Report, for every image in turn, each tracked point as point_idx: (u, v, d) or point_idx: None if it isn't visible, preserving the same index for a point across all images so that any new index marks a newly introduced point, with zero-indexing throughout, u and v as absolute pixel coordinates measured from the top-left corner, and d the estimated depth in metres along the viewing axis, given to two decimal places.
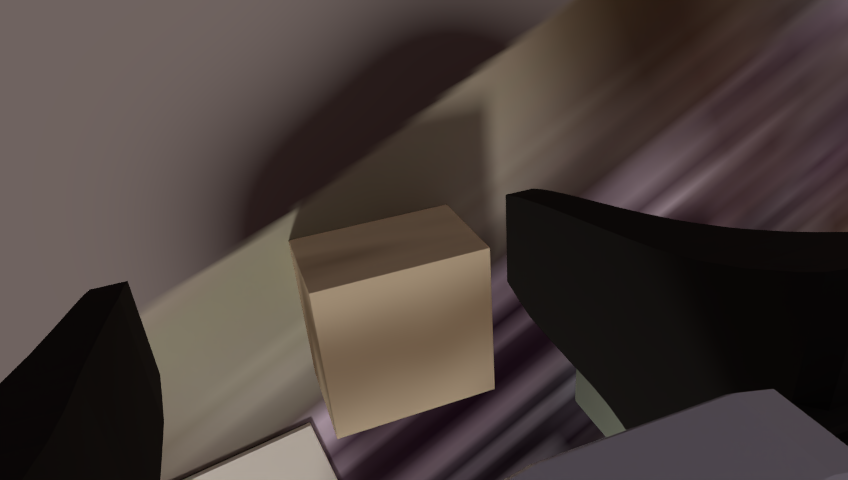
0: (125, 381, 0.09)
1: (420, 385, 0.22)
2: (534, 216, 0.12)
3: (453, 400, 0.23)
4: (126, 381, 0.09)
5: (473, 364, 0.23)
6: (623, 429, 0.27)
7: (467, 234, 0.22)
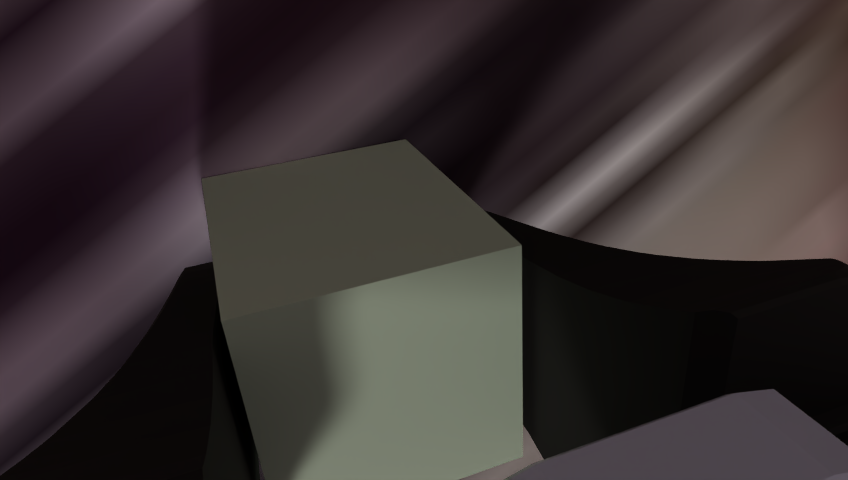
0: None
1: None
2: None
3: None
4: None
5: None
6: None
7: None
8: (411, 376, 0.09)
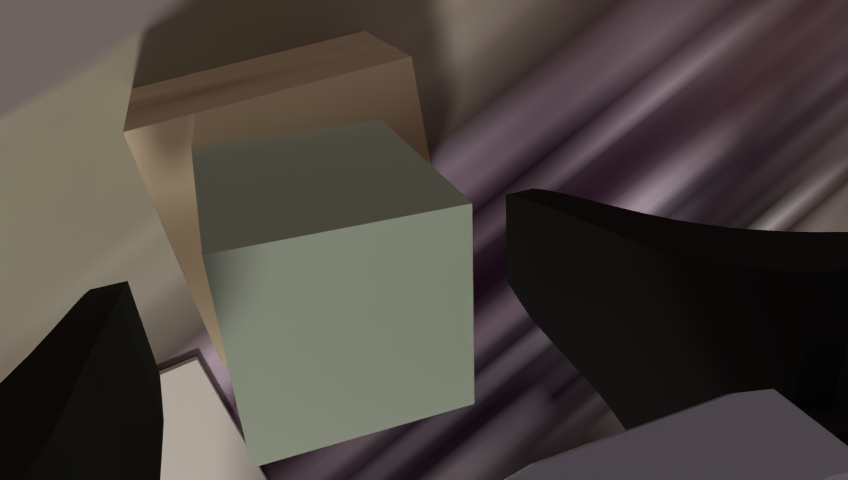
0: (125, 381, 0.09)
1: None
2: (534, 216, 0.12)
3: None
4: (126, 381, 0.09)
5: None
6: None
7: (383, 49, 0.15)
8: (372, 318, 0.10)
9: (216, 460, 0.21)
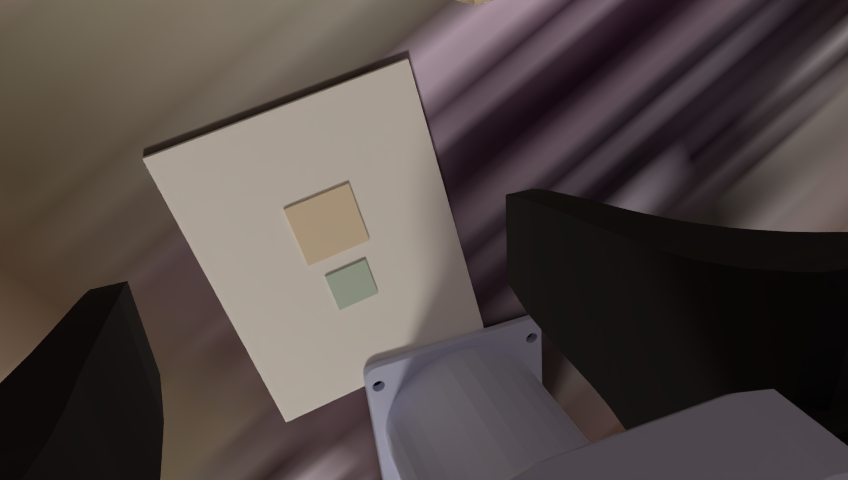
0: (125, 381, 0.09)
1: None
2: (534, 216, 0.12)
3: None
4: (126, 381, 0.09)
5: None
6: None
7: None
8: None
9: (411, 173, 0.23)
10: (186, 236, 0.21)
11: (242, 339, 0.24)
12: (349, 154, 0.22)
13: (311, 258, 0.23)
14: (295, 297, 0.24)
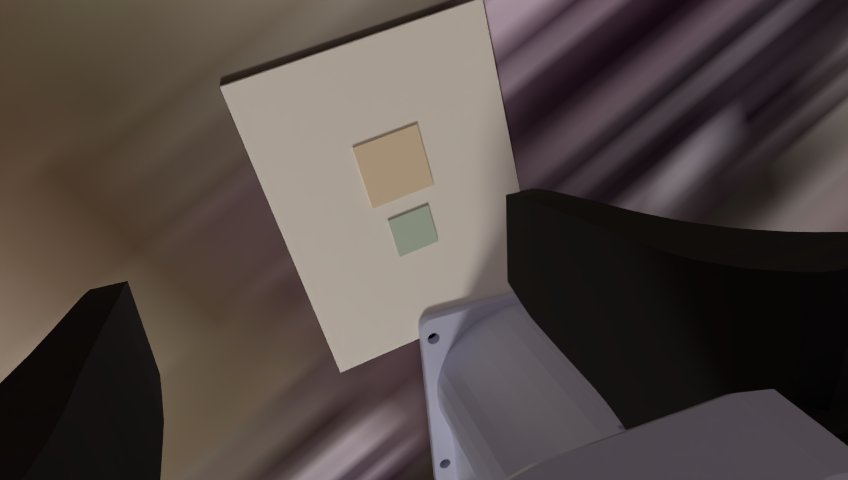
0: (125, 381, 0.09)
1: None
2: (534, 216, 0.12)
3: None
4: (126, 381, 0.09)
5: None
6: None
7: None
8: None
9: (478, 118, 0.23)
10: (256, 170, 0.21)
11: (303, 282, 0.23)
12: (419, 94, 0.22)
13: (375, 201, 0.23)
14: (357, 241, 0.23)
